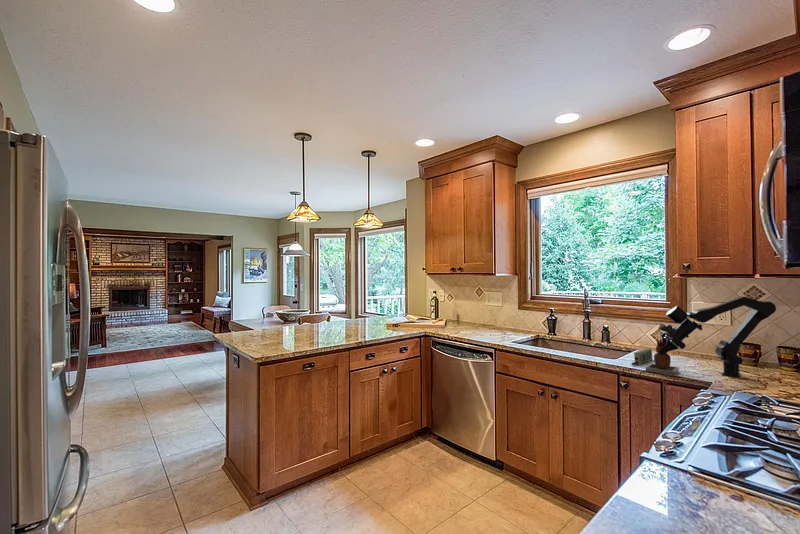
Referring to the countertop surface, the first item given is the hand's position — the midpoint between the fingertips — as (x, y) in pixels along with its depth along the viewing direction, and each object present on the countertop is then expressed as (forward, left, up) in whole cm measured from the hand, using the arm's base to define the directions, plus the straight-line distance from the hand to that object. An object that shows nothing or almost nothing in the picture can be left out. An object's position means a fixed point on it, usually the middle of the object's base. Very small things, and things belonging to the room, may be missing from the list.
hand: (658, 351), depth 191 cm
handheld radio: (-16, -12, -10) cm, 22 cm away
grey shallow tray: (-1, +1, -9) cm, 10 cm away
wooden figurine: (-1, +1, -8) cm, 8 cm away
